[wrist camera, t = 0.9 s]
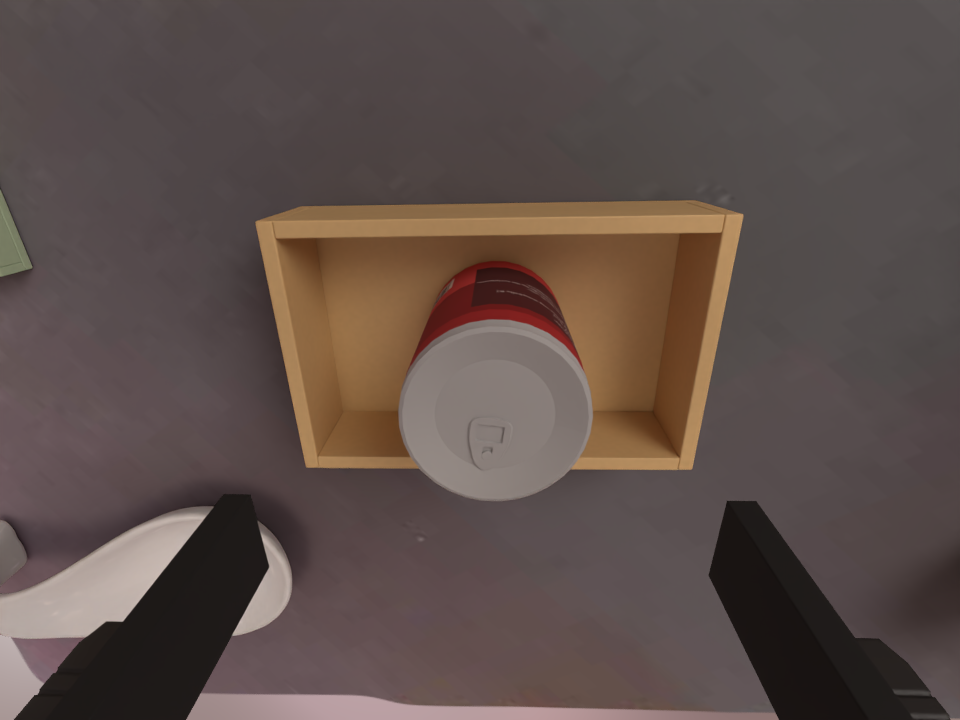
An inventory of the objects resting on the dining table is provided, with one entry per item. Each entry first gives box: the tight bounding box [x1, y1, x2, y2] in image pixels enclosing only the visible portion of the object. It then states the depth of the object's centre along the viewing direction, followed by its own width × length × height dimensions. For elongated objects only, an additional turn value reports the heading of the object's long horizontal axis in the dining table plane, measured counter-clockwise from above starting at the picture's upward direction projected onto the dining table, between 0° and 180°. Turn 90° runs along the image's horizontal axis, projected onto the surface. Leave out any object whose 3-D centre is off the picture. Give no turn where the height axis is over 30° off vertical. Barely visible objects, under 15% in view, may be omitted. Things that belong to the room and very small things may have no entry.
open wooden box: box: [255, 200, 743, 470], centre depth 26 cm, size 22×14×6 cm, turn 91°
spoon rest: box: [0, 506, 292, 639], centre depth 34 cm, size 24×12×7 cm, turn 92°
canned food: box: [398, 261, 593, 501], centre depth 23 cm, size 8×8×11 cm
